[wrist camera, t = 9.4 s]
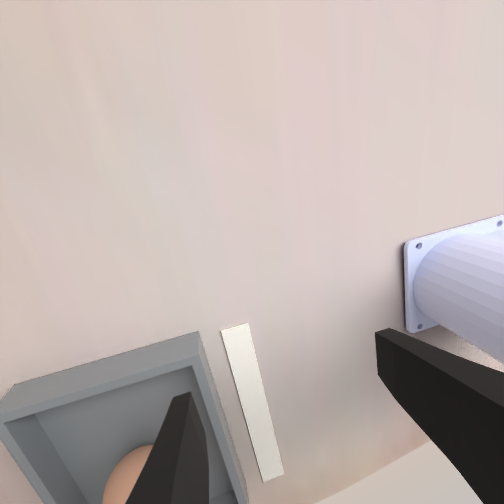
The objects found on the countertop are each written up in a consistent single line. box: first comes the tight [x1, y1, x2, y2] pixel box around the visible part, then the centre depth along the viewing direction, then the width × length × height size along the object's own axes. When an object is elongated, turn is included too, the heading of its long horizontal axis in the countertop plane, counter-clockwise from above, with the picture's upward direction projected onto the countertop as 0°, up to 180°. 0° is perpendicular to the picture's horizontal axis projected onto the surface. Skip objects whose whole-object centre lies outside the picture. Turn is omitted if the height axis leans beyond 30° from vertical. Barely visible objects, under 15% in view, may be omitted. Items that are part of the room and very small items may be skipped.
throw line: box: [221, 323, 284, 482], centre depth 22 cm, size 2×16×1 cm, turn 12°
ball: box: [102, 445, 153, 504], centre depth 18 cm, size 5×5×5 cm
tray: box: [0, 331, 249, 504], centre depth 20 cm, size 12×16×3 cm
